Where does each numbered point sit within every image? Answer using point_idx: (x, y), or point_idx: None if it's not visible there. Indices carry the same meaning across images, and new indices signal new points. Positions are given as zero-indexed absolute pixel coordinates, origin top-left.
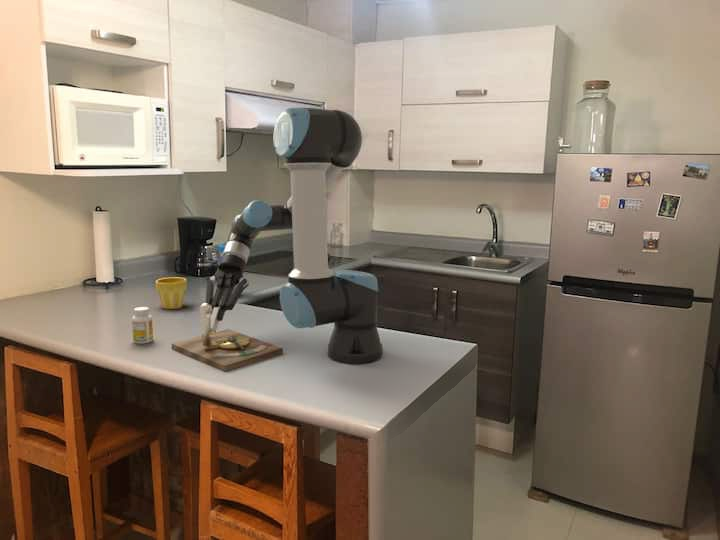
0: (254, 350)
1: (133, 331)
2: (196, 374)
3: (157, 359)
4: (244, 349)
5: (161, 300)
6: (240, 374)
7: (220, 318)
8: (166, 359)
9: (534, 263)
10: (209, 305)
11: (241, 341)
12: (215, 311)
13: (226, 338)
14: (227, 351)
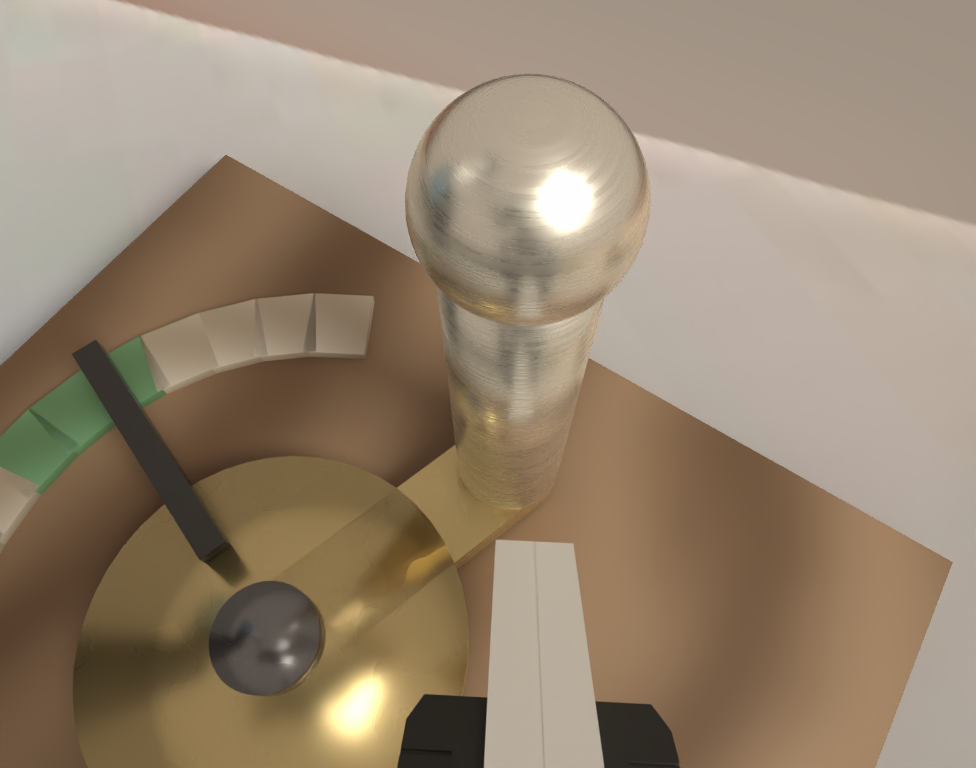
0: (11, 481)
1: None
2: (417, 122)
3: (846, 307)
4: (78, 353)
5: None
6: (124, 162)
7: (417, 717)
8: (778, 318)
9: None
10: (433, 133)
11: (157, 634)
12: (533, 763)
13: (368, 717)
14: (286, 440)
